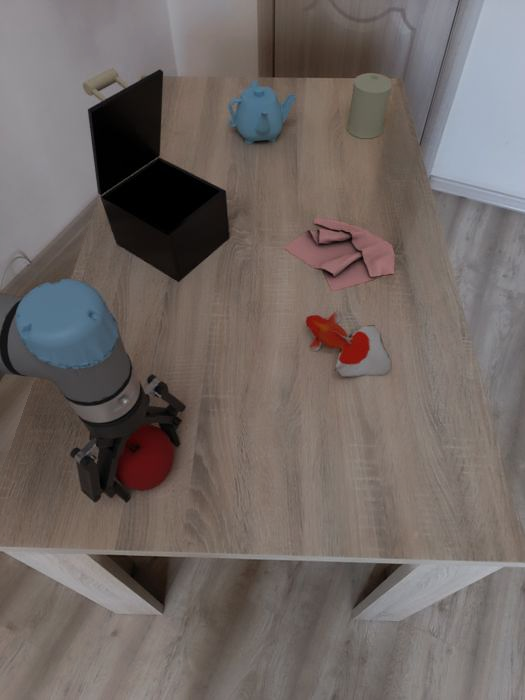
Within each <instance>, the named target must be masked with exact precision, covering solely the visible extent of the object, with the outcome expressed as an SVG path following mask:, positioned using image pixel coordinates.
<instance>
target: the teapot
mask: <svg viewBox="0 0 525 700" xmlns="http://www.w3.org/2000/svg"><path fill="white" fill-rule="evenodd" d="M296 98H297V96H296V94H295V93H289V95H288V96H286V99H285V100H284V101H283V103H282V104H280V101H279V99H278V96H277V95H276V93H275V91H274V90H273V88H271V87H269V86H260V85H259V81H258V80H252V81H250V82H249V87H247V88H244V89H243V90H242V92H241V94H240V96H239V97H233V98H232V99H231V100H230V101H229V102H228V111H229V113H230V115H231V117H229V119H228V121H227V122H228V123H227V124H228V125H229V127H231V128H236V129H237V130H238V132H239V134H240V135H241V136H242V137H243V139H244V141H245V143H246V144H249V145H251V144H254V143H255V142H257V141H260V142H261V141H267V142H269V143H270V142H271V143H272V142H273V143H274V142H276V140H277V137H278V136H279V135H280V134H281V131H282V130H283V126H284V123H285V121H286V119H287V117H288V115H289V113H290V112H291V111H290V110H291V109H292V107H293V104H294V102H295V100H296ZM236 103H237V104H236ZM234 104H236V109H235V113H234V110H233V105H234ZM232 121H233V122H232Z"/></svg>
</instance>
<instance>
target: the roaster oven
mask: <svg viewBox="0 0 525 700" xmlns="http://www.w3.org/2000/svg"><path fill="white" fill-rule="evenodd" d="M100 201H101V202H102V206H103V209H104V211H105V215H106V218H107V220H108V221H107V222H108V223H109V226H110V229H111V232H112V235H113V239H114V241H115V244H116V245H117V246H119V247H121V248H123V249H124V250H125V251H127V252H129V253H130V254H132V255H134V256H135V257H137V258H139V259H140V260H142V261H143V262H145V263H147V264H148V265H150V266H151V267H153V268H155V269H157V270H158V271H160V272H161V273H163V274H165V275H166V276H168V277H169V278H170V279H172V280H174V281H176V282H178V283H180V282H181V281H182V280H183V279H184V278H185V277H186V276H187V275H189V274H190V273H191V272H192V271H194V269H196V268H197V267H198V266H199V265H200V264H201V263H202V262H204V261H205V260H206V259H207V258H208V257H210V256H211V255H212V254H213V253H214V252H215V251H217V249H219V248H220V247H221V246H222V245H223V244H225V243H226V242H228V240H229V239H230V225H229V214H228V212H229V211H228V201H227V190H225V189H224V188H221V187H220V186H218V185H216V184H214V183H211V182H210V181H207V180H205V179H203V178H201V177H200V176H198V175H196V174H194V173H191V172H189V171H187V170H186V169H183V168H182V167H180V166H178V165H176V164H175V163H174V164H173V163H172V162H170V161H168V160H166V159H164V158H162V157H160V156H159V157H158V158H156V159H155V160H153V161H152V162H150V163H149V164H147V165H146V166H144V167H143V168H141V169H140V170H138V171H137V172H135V173H134V174H132V175H131V176H129V177H128V178H126V179H125V180H123V181H122V182H120V183H119V184H117V185H116V186H114V187H113V188H111V189H110V190H108V191H107V192H105V193H104V194H103V195H100Z"/></svg>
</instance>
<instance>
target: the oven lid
mask: <svg viewBox="0 0 525 700" xmlns="http://www.w3.org/2000/svg"><path fill="white" fill-rule="evenodd" d="M114 84H117V85H118V86H120V87H121V88H123V89H122V90H120V91H118V92H116V93H114V94H112V95H111V96H108V97H106V96H105V95H104V94H102V93H101V92H100V91H102V90H104V89H106V88H108V87H110V86H112V85H114ZM163 85H164V71H163V70H162V69H161V68H159V69H157V70H155V71H154V72H152V73H150V74H148V75H146V76H145V77H143V78H141V79H139V80H138V81H136V82H134V83H132V84H128V83H127V82H126V81H125V80H123V79H122V78H120V76H119V73H118V71H117V70H116V69H115V68H114V67H111V68H109V69H107V70H106V71H104V72H101V73H100V74H97V75H96V76H94V77H92V78H90V79H88V80H87V81H84V82H83V83H82V88H83V90H84V92H85V94H86V95H88V96H94V97H95V98H96V99H98V100H99V101H100V102H98V103H96V104H94V105H92V106H91V107H89V108H87V115H88V124H89V132H90V140H91V149H92V155H93V156H92V157H93V163H94V165H93V166H94V171H95V181H96V189H97V194H98V195H99V196H102V195H104V194H105V193H106V192H108V191H109V190H111V189H112V188H114V187H115V186H117V185H118V184H120V183H121V182H123V181H124V180H126V179H127V178H129V177H130V176H132V175H133V174H135V173H136V172H138V171H139V170H141V169H142V168H144V167H145V166H146V165H148V164H149V163H151V162H152V161H154V160H155V159H157V158H158V157H160V156H161V140H162V138H161V137H162V116H163V115H162V113H163V112H162V111H163V90H164V89H163V88H164V86H163Z"/></svg>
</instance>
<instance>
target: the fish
mask: <svg viewBox="0 0 525 700" xmlns="http://www.w3.org/2000/svg"><path fill="white" fill-rule="evenodd" d="M340 322H341V312H340V310H339V309H337V310H336V311H335V312H333V313H332V314H331V315H330V316H329V317H328V318H324V317H322V316H321V315H319V314H313V315H309V316H307V317H306V318H305V324H306V329H307V330H308V331H309V332H310V333H311V334H312V335H313V336H314V339H313V341H311V343H310V345H309V348H310V351H311V352H317V351H320V350H321V346H322V345H324V346H325V347H327V348H330V349H339V351H338V357H337V361H336V365H335V369H334V372H336V371H338V374H339V375H340V376H341V377H342V378H349V379H350V378H359V377H364V376H367V377H368V376H369V377H378V376H384V375H387V374H389V372H390V371H391V370H392V360H391V357H390V355H389V353H388V351H387V349H386V347H385V345H384V342H383V339H382V333H381V331H380V330H379V328H378V327H376V326H375V325H374V324H369V325H365V326H363V327H361V328H359V329H357V330H356V331H354V332H353V333H351V334H350V335H348V334H347V332H346V330H345V329H344V328H343V327H342V326H341V325H339V323H340Z"/></svg>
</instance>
